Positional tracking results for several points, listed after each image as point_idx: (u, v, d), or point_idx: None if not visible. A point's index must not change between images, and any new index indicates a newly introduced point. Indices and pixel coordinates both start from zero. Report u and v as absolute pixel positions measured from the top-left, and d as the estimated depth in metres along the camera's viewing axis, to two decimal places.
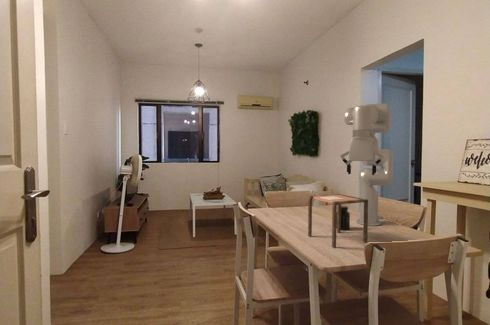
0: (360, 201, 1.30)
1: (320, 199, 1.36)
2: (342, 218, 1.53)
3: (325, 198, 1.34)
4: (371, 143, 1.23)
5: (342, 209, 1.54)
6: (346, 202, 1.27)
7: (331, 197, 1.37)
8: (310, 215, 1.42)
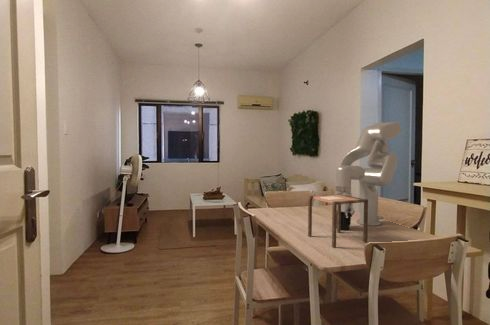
0: (360, 201, 1.30)
1: (320, 199, 1.36)
2: (342, 218, 1.53)
3: (325, 198, 1.34)
4: None
5: None
6: (346, 202, 1.27)
7: (331, 197, 1.37)
8: (310, 215, 1.42)
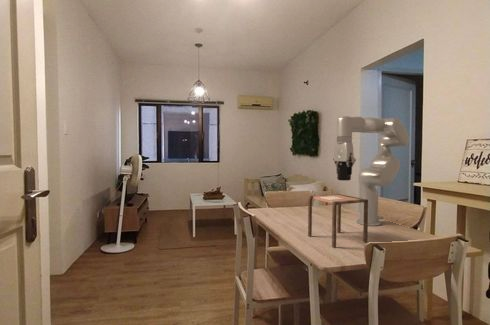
0: (360, 201, 1.30)
1: (320, 199, 1.36)
2: (343, 168, 1.52)
3: (325, 198, 1.34)
4: None
5: None
6: (346, 202, 1.27)
7: (331, 197, 1.37)
8: (310, 215, 1.42)
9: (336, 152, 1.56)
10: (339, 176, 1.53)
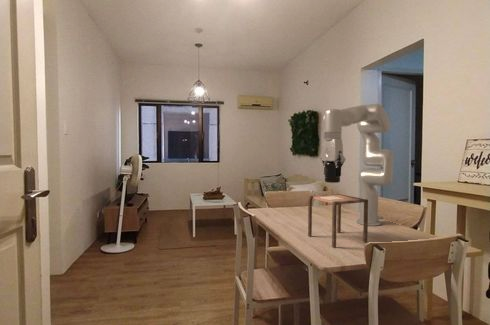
0: (360, 201, 1.30)
1: (320, 199, 1.36)
2: (331, 168, 1.32)
3: (325, 198, 1.34)
4: None
5: None
6: (346, 202, 1.27)
7: (331, 197, 1.37)
8: (310, 215, 1.42)
9: (323, 150, 1.37)
10: (327, 178, 1.34)
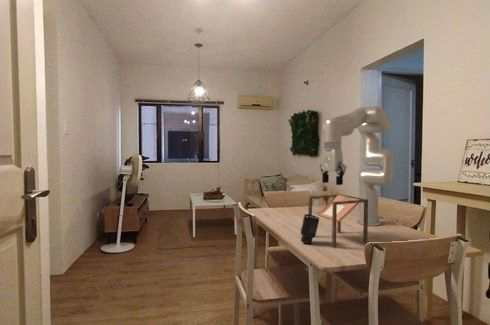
0: (360, 201, 1.30)
1: (324, 217, 1.37)
2: None
3: (328, 215, 1.35)
4: None
5: (311, 241, 1.31)
6: (346, 202, 1.27)
7: None
8: None
9: (323, 160, 1.37)
10: None
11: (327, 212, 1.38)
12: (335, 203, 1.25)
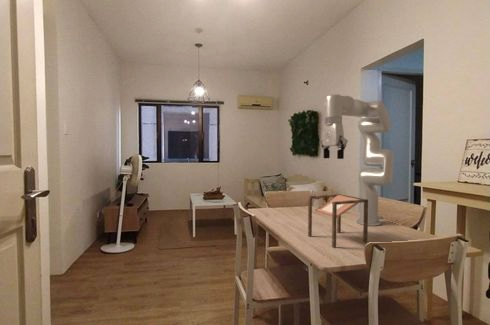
0: (360, 201, 1.30)
1: (322, 212, 1.37)
2: None
3: (327, 211, 1.35)
4: None
5: None
6: (346, 202, 1.27)
7: (332, 206, 1.38)
8: (310, 215, 1.42)
9: (324, 135, 1.39)
10: None
11: (325, 208, 1.38)
12: (335, 203, 1.25)
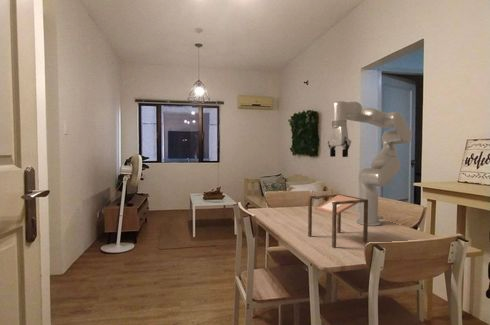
0: (360, 201, 1.30)
1: (321, 210, 1.36)
2: None
3: (326, 208, 1.35)
4: None
5: None
6: (346, 202, 1.27)
7: (331, 204, 1.37)
8: (310, 215, 1.42)
9: (331, 137, 1.60)
10: None
11: (325, 206, 1.37)
12: (335, 203, 1.25)
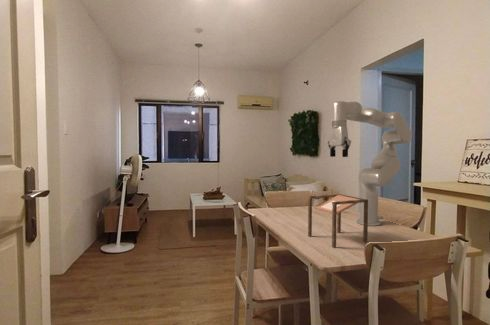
0: (360, 201, 1.30)
1: (321, 210, 1.36)
2: None
3: (326, 208, 1.35)
4: None
5: None
6: (346, 202, 1.27)
7: (331, 204, 1.37)
8: (310, 215, 1.42)
9: (331, 137, 1.60)
10: None
11: (325, 206, 1.37)
12: (335, 203, 1.25)
